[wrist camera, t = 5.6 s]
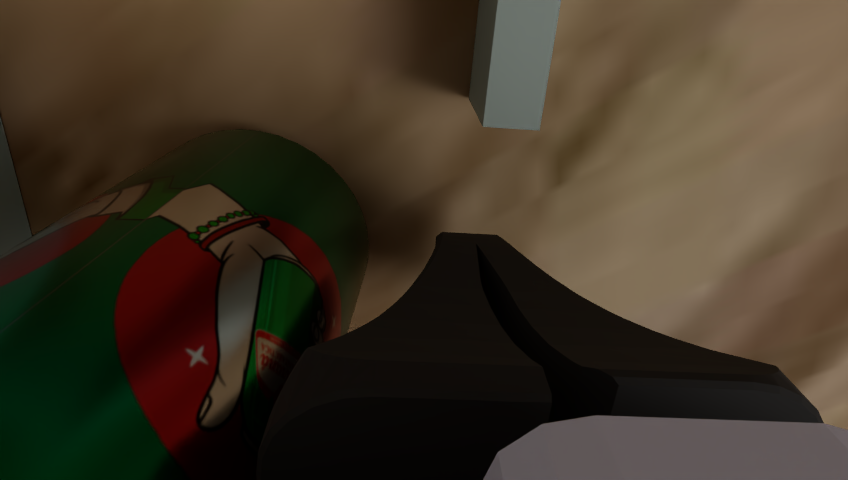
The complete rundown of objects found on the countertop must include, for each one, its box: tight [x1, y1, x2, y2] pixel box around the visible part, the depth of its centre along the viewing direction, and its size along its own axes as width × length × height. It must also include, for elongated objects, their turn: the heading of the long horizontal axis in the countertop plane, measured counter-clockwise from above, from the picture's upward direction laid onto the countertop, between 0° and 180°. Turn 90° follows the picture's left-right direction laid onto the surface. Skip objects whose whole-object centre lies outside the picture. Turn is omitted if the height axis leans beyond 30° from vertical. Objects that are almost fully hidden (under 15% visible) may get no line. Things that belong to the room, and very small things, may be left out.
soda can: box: [0, 129, 369, 480], centre depth 7 cm, size 5×5×12 cm
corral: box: [0, 0, 561, 255], centre depth 12 cm, size 24×12×2 cm, turn 176°
